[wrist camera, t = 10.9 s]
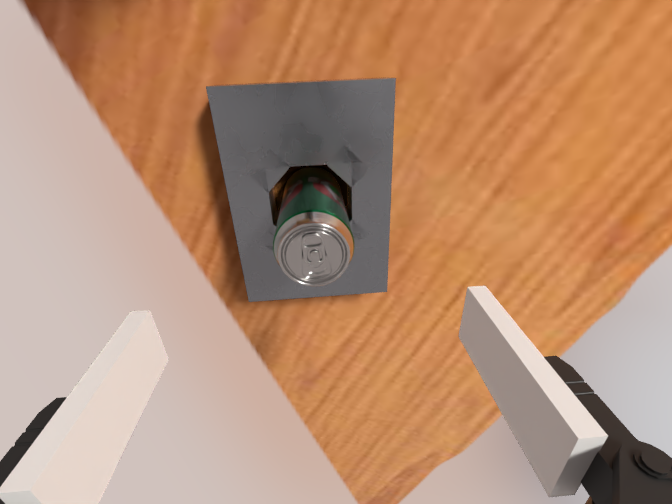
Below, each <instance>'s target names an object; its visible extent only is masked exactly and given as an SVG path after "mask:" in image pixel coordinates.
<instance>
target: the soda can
mask: <svg viewBox="0 0 672 504" xmlns="http://www.w3.org/2000/svg"><path fill="white" fill-rule="evenodd" d="M273 253H274V256H275V259H276V261H277V263H278V265H279V266H280V267H281V269H282V271H283V272H284V273H285V275H286V276H287V277H288V278H290V279H291V280H293V281H294V282H296V283H298V284H301V285H305V286H312V287H315V286H323V285H326V284H329V283H331V282H333V281H335V280H336V279H338V278H339V277H340V276H341V275H342V274H343V273H344V272H345V270H346V268H347V267H348V265H349V263H350V261H351V260H352V257H353V254H354V238H353V234H352V230H351V226H350V223H349V219H348V215H347V212H346V208H345V204H344V201H343V197H342V193H341V190H340V186H339V184H338V182H337V180H336V178H335V177H334V176H333V175H332V174H331V173H329V172H328V171H326V170H324V169H322V168H318V167H306V168H302V169H300V170H298V171H296V172H295V173H294V174H292V175H291V177H290V178H289V179H288V181H287V183H286V185H285V189H284V193H283V198H282V203H281V207H280V212H279V217H278V221H277V226H276V231H275V235H274V240H273Z"/></svg>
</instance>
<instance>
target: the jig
mask: <svg viewBox="0 0 672 504" xmlns="http://www.w3.org/2000/svg"><path fill="white" fill-rule="evenodd" d="M395 82H396V78H366V79H344V80H322V81H300V82H277V83H255V84H233V85H215V86H207V87H206V89H207V94H208V99H209V104H210V109H211V114H212V119H213V124H214V129H215V134H216V139H217V144H218V149H219V154H220V159H221V164H222V169H223V174H224V179H225V184H226V189H227V194H228V199H229V204H230V209H231V214H232V219H233V225H234V230H235V235H236V240H237V245H238V250H239V255H240V260H241V265H242V270H243V275H244V280H245V285H246V290H247V295H248V300H249V302H254V301H267V300H281V299H295V298H308V297H322V296H336V295H349V294H363V293H376V292H387V280H388V255H389V231H390V206H391V181H392V156H393V131H394V107H395ZM310 165H327V166H328V167H329V168H331V169H332V170H333V171H334V172H335V173H336V174H337V175H338V176H339V177H341V178H342V179H343V180H344V181H345V182H346V183H347V186H348V205H347V206H346V207H345V208H346V212H347V215H348V219H349V223H350V226H351V230H352V234H353V238H354V254H353V257H352V260H351V261H350V263H349V265H348V267H347V268H346V270H345V272H344V273H343V274H342V275H341V276H340V277H339V278H338V279H336V280H335V281H333V282H331V283H329V284H326V285H323V286H315V287H312V286H305V285H301V284H298V283H296V282H294V281H293V280H291V279H290V278H288V277H287V276H286V275H285V273H284V272H283V271H282V269H281V267H280V266H279V265H278V263H277V261H276V259H275V256H274V253H273V240H274V235H275V231H276V226H277V221H278V217H279V211H278V210H277V209H276V201H275V193H274V186H275V184H276V183H277V182H278V181H279V180H280V178H281V177H282V176H283V175H284V174H285V173H286V171H287V170H288V169H289V168H290V167H292V166H310Z"/></svg>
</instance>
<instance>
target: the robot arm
mask: <svg viewBox="0 0 672 504" xmlns="http://www.w3.org/2000/svg"><path fill="white" fill-rule="evenodd" d="M459 338H460V340H461V342H462V343H463V345H464V347H465V349H466V351H467V352H468V354H469V356H470V358H471V359H472V361H473V363H474V365H475V367H476V368H477V370H478V372H479V374H480V375H481V377H482V379H483V381H484V383H485V384H486V386H487V388H488V390H489V391H490V393H491V395H492V397H493V399H494V400H495V402H496V404H497V406H498V408H499V409H500V411H501V413H502V415H503V416H504V418H505V420H506V422H507V423H508V425H509V427H510V429H511V431H512V432H513V434H514V436H515V438H516V440H517V441H518V443H519V445H520V447H521V448H522V450H523V452H524V454H525V455H526V457H527V459H528V461H529V463H530V464H531V466H532V468H533V470H534V472H535V473H536V475H537V477H538V479H539V481H540V482H541V484H542V486H543V488H544V489H545V491H546V493H547V495H548V496H549V497H557V496H566V495H575V493H576V491H577V490H578V488H579V486H580V485H581V483H582V485H583V486H584V488H585V489H586V491H587V492H588V494H589V495H590V497H589V498H588V500H587V502H586V503H585V504H672V458H671V457H669V456H668V455H667V454H666V453H664V452H663V451H661V450H660V449H658V448H656V447H654V446H652V445H650V444H647V443H644V442H640V441H638V440H637V439H636V438H635V437H634V436H633V435H632V434H631V433H630V432H629V430H627V428H626V427H625V426H624V425H623V424H622V423H621V422H620V420H619V419H618V418H617V417H616V416H615V415H614V414H613V412H612V411H611V410H610V409H609V408H608V407H607V406H606V404H605V403H604V402H603V401H602V400H601V399H600V398H599V397H598V395H596V394H594V391H593V390H592V389H591V388H590V386H589V385H588V384H587V383H585V382H584V380H583V379H582V377H581V376H580V375H579V374H578V373H577V372H576V371H575V370H574V368H573V367H571V366H570V365H569V364H567V363H565V362H564V361H563V360H561V359H560V358H559V357H557V356H548V357H543V356H542V354H541V353H540V352H539V351H538V350H537V348H536V347H535V346H534V345H533V343H532V342H531V341H530V340H529V339H528V337H527V336H526V335H525V334H524V332H523V331H522V330H521V329H520V328H519V326H518V325H517V324H516V323H515V321H514V320H513V319H512V318H511V317H510V315H509V314H508V313H507V312H506V310H505V309H504V308H503V307H502V306H501V304H500V303H499V302H498V301H497V299H496V298H495V297H494V296H493V295H492V293H491V292H490V291H489V290H488V288H487V287H486V286H474V287H467V293H466V298H465V304H464V309H463V315H462V320H461V326H460V331H459ZM168 360H169V358H168V356H167V353H166V351H165V348H164V346H163V343H162V340H161V338H160V335H159V333H158V330H157V327H156V325H155V322H154V319H153V317H152V314H151V311H150V310H146V311H131V312H130V313H129V314H128V316H127V317H126V318H125V320H124V322H123V323H122V324H121V325H120V327H119V328H118V329H117V331H116V332H115V333H114V335H113V336H112V337H111V339H110V340H109V341H108V343H107V344H106V345H105V347H104V348H103V350H102V351H101V352H100V353H99V355H98V356H97V358H96V359H95V360H94V362H93V363H92V364H91V366H90V367H89V368H88V370H87V371H86V372H85V374H84V375H83V377H82V378H81V379H80V380H79V382H78V383H77V384H76V386H75V387H74V388H73V390H72V391H71V393H70V394H69V395H68V397H64V398H56V399H55V400H54V401H53V402H51V403H50V404H49V405H48V406H47V407H45V408H44V409H43V410H42V411H41V412H39V413H38V414H37V416H36V417H35V418H34V420H33V421H32V422H31V423H30V425H29V426H28V427H27V428H26V432H25V433H22V435H21V436H20V437H19V439H18V440H17V441H16V442H15V446H14V447H12V448H11V449H10V450H9V451H8V452H7V454H6V455H5V456H4V458H3V459H2V460H1V461H0V504H99V502H100V500H101V498H102V496H103V494H104V492H105V489H106V487H107V485H108V483H109V481H110V479H111V477H112V475H113V473H114V471H115V469H116V467H117V464H118V463H119V461H120V458H121V456H122V454H123V453H124V450H125V448H126V446H127V444H128V442H129V440H130V438H131V436H132V434H133V432H134V430H135V428H136V426H137V424H138V422H139V420H140V418H141V416H142V414H143V411H144V409H145V407H146V405H147V403H148V401H149V399H150V397H151V395H152V392H153V391H154V389H155V387H156V385H157V383H158V380H159V379H160V377H161V374H162V372H163V370H164V368H165V366H166V364H167V362H168Z"/></svg>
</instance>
